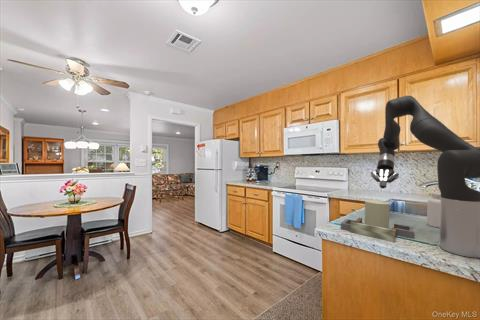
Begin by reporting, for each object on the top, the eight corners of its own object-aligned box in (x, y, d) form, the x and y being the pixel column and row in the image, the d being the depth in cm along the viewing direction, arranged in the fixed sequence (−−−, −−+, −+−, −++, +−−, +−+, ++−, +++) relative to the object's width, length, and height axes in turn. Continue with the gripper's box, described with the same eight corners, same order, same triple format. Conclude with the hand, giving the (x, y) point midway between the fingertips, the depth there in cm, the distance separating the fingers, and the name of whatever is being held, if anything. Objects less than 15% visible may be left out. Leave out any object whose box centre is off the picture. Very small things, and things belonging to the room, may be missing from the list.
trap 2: (413, 232, 84) (413, 226, 84) (413, 238, 77) (413, 232, 77) (397, 229, 87) (397, 224, 87) (396, 235, 81) (396, 228, 81)
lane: (397, 229, 87) (397, 220, 87) (394, 241, 74) (394, 230, 74) (359, 222, 96) (359, 214, 96) (350, 232, 84) (350, 222, 84)
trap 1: (355, 226, 91) (356, 220, 91) (351, 231, 85) (351, 225, 85) (346, 224, 94) (346, 218, 94) (340, 228, 87) (340, 223, 87)
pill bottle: (453, 230, 87) (453, 195, 87) (428, 226, 92) (428, 193, 92) (449, 225, 94) (449, 193, 94) (425, 222, 99) (426, 191, 99)
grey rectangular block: (394, 231, 85) (395, 203, 85) (372, 231, 85) (372, 202, 85) (380, 224, 94) (380, 198, 94) (359, 224, 94) (360, 198, 94)
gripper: (371, 158, 117) (366, 181, 107) (400, 158, 108) (398, 184, 99) (372, 167, 121) (368, 190, 112) (400, 168, 112) (399, 193, 103)
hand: (382, 187), depth 105 cm, fingers closed
